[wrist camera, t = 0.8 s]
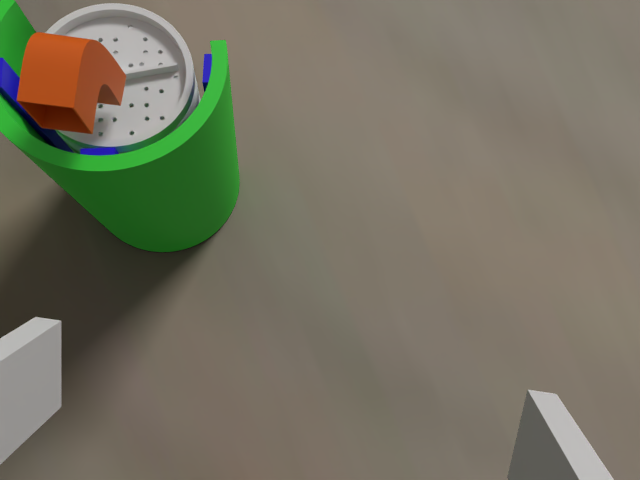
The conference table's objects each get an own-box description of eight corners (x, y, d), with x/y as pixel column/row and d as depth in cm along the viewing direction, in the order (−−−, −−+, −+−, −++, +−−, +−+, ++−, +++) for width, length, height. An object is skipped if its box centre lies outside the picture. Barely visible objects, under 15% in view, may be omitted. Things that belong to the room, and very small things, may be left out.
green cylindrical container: (236, 127, 35) (215, -102, 17) (243, 247, 33) (228, 128, 16) (90, 132, 34) (-89, -108, 16) (90, 257, 32) (-108, 139, 15)
